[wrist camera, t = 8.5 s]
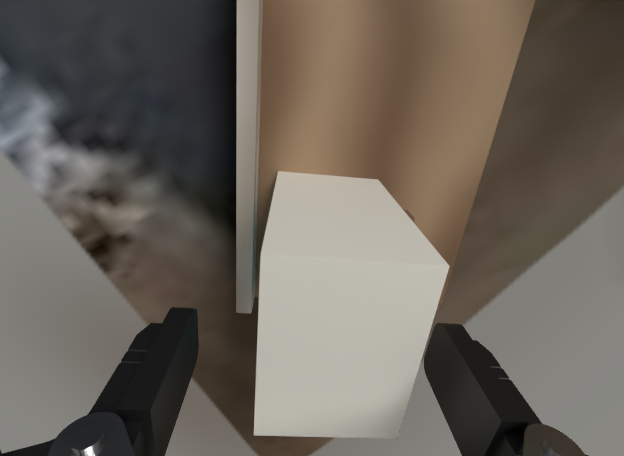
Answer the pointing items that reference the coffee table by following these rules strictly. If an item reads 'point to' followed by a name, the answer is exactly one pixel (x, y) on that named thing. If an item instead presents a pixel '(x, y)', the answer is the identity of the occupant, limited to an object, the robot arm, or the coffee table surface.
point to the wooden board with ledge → (370, 106)
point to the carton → (341, 309)
